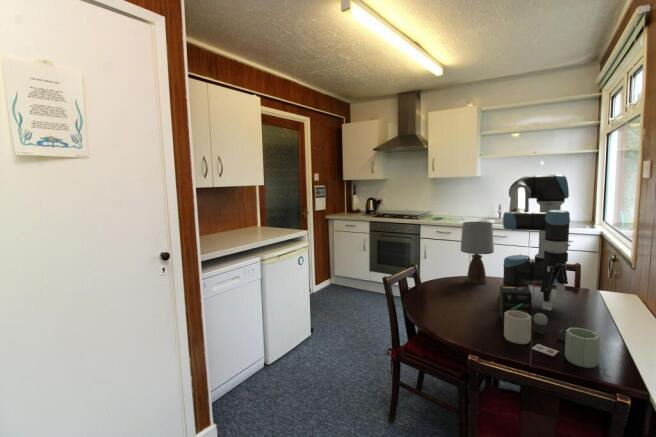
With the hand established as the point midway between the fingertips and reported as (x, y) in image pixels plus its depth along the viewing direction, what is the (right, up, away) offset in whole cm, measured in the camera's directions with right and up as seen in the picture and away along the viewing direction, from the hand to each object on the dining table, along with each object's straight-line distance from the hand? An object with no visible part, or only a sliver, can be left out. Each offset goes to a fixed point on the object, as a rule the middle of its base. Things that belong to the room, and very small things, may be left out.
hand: (553, 304), depth 127 cm
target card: (-8, -15, -6) cm, 18 cm away
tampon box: (-4, -13, +20) cm, 24 cm away
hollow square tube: (+5, -14, +1) cm, 15 cm away
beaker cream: (-13, -15, +3) cm, 20 cm away
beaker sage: (0, -16, -14) cm, 21 cm away
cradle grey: (0, -14, +8) cm, 16 cm away
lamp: (+5, -6, +76) cm, 76 cm away
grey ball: (0, -11, +8) cm, 14 cm away
